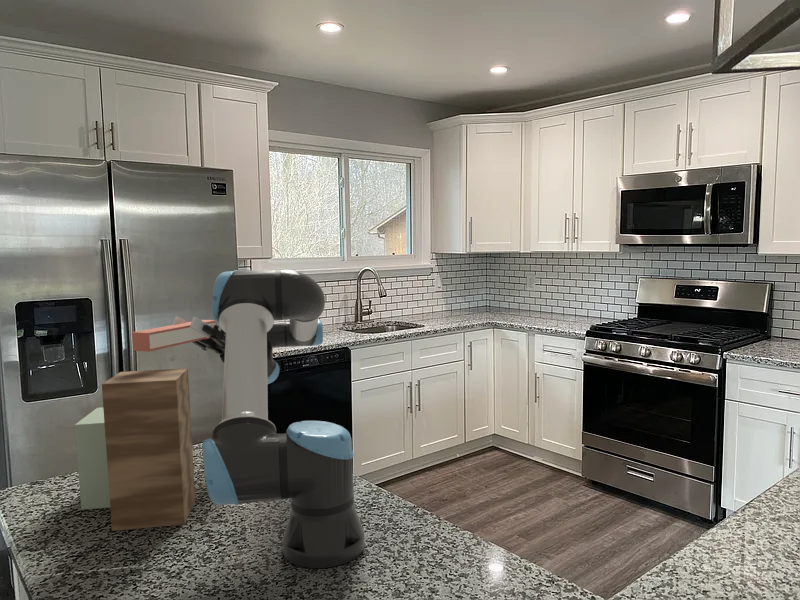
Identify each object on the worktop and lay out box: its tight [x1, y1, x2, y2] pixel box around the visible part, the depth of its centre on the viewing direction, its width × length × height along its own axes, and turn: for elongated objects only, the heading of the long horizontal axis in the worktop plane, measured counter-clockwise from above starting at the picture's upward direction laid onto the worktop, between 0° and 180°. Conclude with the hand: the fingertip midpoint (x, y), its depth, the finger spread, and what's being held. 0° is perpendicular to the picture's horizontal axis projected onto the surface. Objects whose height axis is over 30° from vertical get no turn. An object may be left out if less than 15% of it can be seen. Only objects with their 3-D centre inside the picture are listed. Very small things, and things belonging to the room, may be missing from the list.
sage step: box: [74, 407, 110, 511], centre depth 138 cm, size 14×12×19 cm
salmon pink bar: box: [131, 319, 218, 353], centre depth 138 cm, size 22×4×4 cm, turn 158°
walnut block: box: [101, 368, 196, 532], centre depth 126 cm, size 12×14×30 cm
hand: (183, 321), depth 140 cm, fingers closed on salmon pink bar, 5 cm apart
